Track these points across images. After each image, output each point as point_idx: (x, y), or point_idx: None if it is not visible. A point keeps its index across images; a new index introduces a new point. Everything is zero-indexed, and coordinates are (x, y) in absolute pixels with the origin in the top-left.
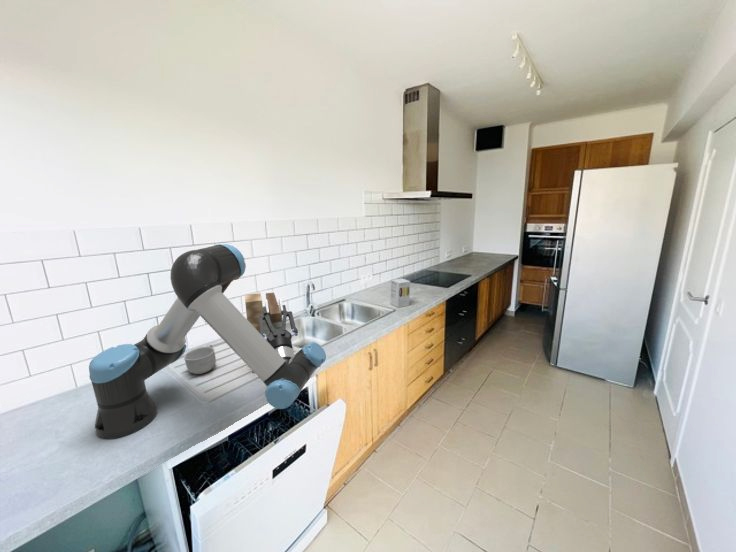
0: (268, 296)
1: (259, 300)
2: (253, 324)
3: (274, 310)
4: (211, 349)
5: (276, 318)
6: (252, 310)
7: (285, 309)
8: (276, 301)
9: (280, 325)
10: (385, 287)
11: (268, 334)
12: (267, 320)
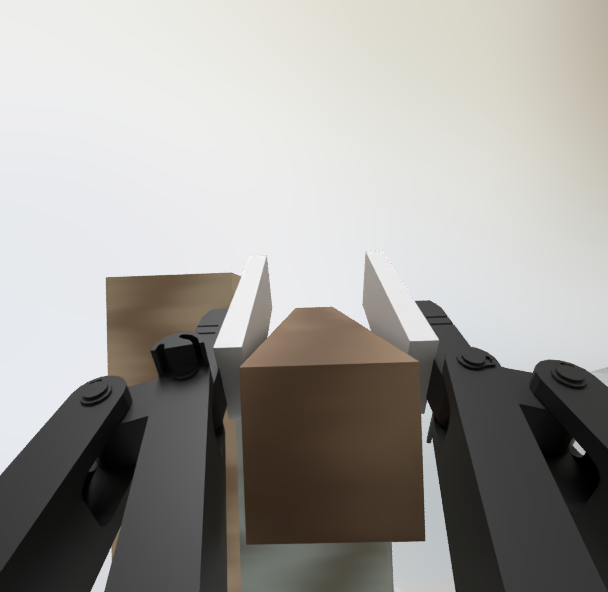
0: (302, 310)
1: (214, 274)
2: None
3: (318, 340)
4: None
5: (339, 463)
6: None
7: (455, 340)
8: (342, 315)
9: None
10: (601, 381)
11: (268, 583)
12: (148, 493)
